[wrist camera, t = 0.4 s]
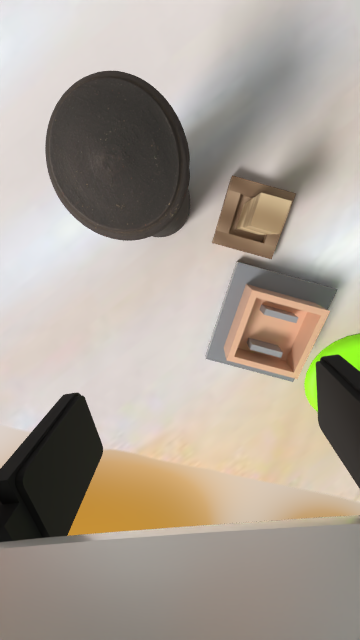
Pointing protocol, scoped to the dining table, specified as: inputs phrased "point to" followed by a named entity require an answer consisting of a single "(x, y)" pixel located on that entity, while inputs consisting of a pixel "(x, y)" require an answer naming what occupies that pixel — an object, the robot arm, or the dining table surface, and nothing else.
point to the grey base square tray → (269, 322)
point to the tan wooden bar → (264, 214)
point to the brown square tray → (230, 214)
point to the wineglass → (351, 348)
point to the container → (119, 157)
